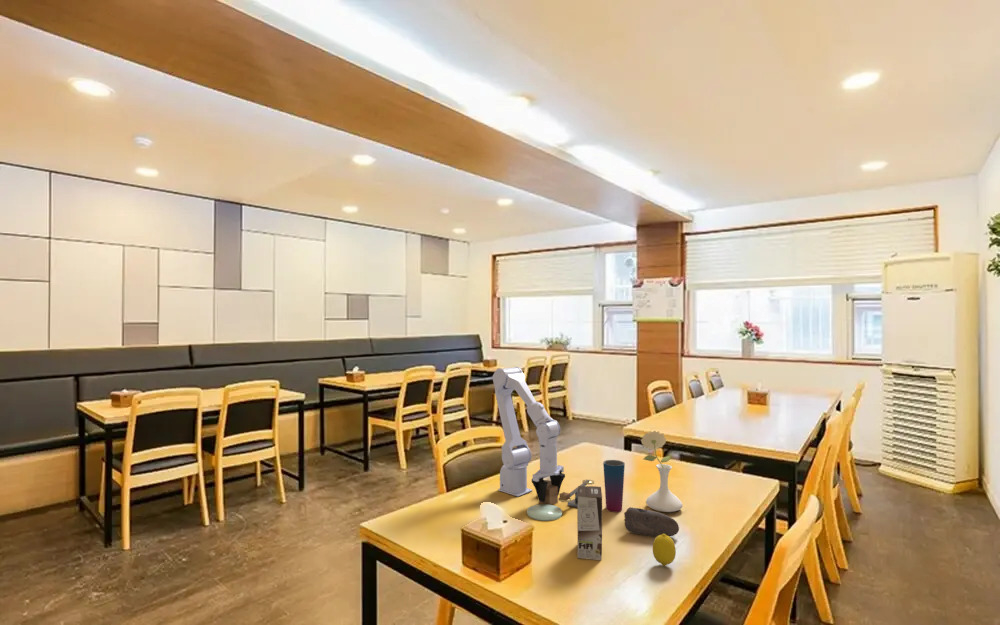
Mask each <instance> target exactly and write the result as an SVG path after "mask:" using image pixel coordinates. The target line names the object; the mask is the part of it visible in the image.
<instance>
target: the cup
mask: <svg viewBox="0 0 1000 625" xmlns="http://www.w3.org/2000/svg"><path fill="white" fill-rule="evenodd" d="M602 465H603V478H604V479H603V480H604V481H603V482H604V494H605V510H607V511H609V512H612V513H618V512H622V510H623V499H624V485H625V484H624V482H625V465H626V464H625V462H624V461H622V460H619V459H606V460H604V461H603V463H602Z"/></svg>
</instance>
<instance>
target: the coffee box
mask: <svg viewBox="0 0 1000 625" xmlns="http://www.w3.org/2000/svg"><path fill="white" fill-rule="evenodd" d="M577 487H578V508H576V509H577V516H576V517H577V523H576V524H577V559H585V560H594V561H595V560H596V561H601V560H602V559H603V558H602V555H603V554H602V553H603V551H602V550H603V493H602V486H596V485H595V486H593V485H590V486H589V485H586V486H580V485H578V486H577Z"/></svg>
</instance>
